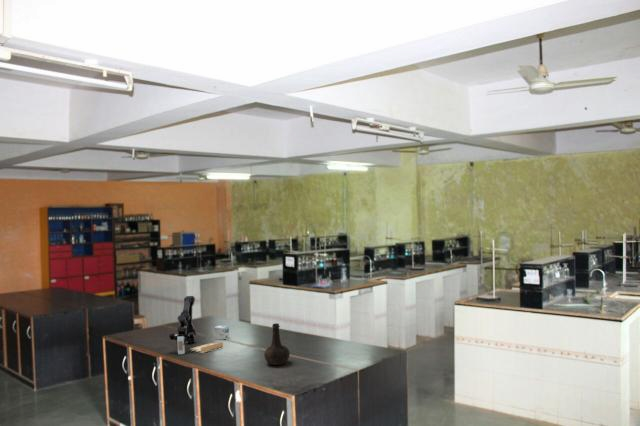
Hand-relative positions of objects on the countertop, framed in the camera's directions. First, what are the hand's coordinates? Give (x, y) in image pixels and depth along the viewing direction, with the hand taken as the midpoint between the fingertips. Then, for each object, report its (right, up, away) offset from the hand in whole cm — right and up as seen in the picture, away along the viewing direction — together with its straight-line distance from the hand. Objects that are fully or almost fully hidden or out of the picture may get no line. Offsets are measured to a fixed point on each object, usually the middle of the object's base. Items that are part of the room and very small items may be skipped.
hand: (180, 345), depth 394 cm
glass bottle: (+78, -4, -35) cm, 85 cm away
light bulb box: (+24, -6, +45) cm, 51 cm away
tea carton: (0, -7, +1) cm, 7 cm away
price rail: (+23, -4, +6) cm, 24 cm away
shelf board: (+17, -6, +11) cm, 22 cm away
